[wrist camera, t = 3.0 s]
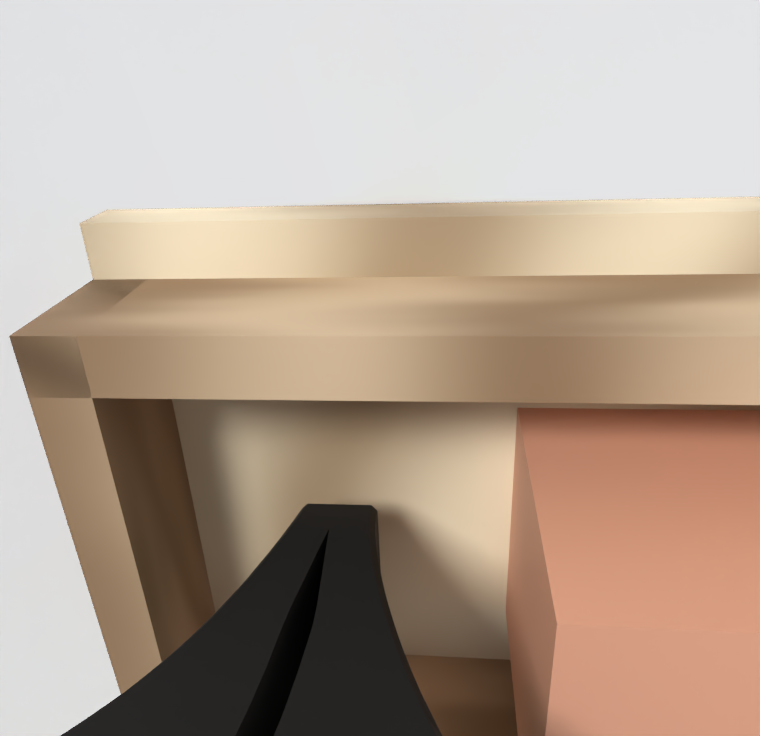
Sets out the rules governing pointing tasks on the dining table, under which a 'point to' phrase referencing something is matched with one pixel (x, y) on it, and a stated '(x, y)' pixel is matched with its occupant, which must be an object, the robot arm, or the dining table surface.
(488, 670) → the tray
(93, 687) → the dining table surface
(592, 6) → the dining table surface
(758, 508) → the block
